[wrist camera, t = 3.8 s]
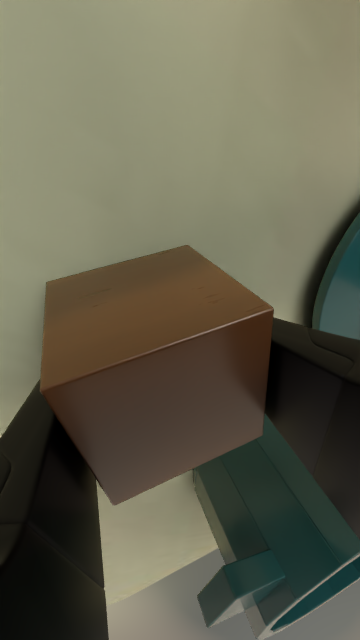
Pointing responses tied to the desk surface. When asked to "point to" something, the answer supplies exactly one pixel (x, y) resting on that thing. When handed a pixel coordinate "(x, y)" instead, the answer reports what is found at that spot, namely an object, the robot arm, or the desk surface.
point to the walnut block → (155, 366)
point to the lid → (341, 288)
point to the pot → (272, 536)
